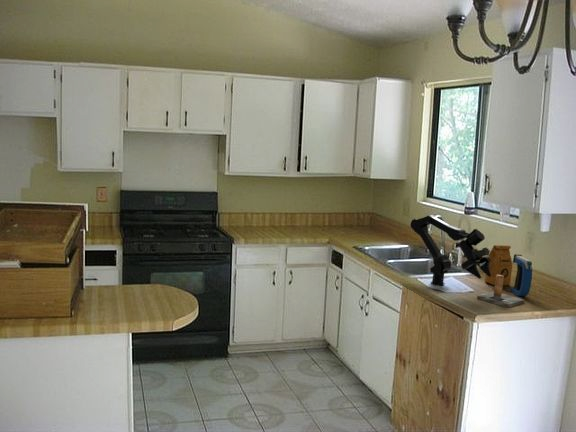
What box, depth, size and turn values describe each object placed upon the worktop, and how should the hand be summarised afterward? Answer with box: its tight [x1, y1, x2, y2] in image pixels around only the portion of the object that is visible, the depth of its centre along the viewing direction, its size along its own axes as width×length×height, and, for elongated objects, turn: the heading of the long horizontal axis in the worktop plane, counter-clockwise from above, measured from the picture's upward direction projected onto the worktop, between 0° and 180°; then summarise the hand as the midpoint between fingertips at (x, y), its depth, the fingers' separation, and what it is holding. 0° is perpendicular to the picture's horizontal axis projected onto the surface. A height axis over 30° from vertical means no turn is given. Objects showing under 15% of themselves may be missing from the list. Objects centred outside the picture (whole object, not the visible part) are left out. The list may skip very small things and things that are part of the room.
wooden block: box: [493, 275, 504, 301], centre depth 286 cm, size 4×4×13 cm
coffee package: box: [484, 244, 513, 286], centre depth 322 cm, size 10×12×22 cm
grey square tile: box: [476, 291, 525, 308], centre depth 290 cm, size 16×16×2 cm
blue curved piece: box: [509, 253, 533, 297], centre depth 303 cm, size 5×16×20 cm, turn 2°
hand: (485, 277), depth 291 cm, fingers open, 9 cm apart
